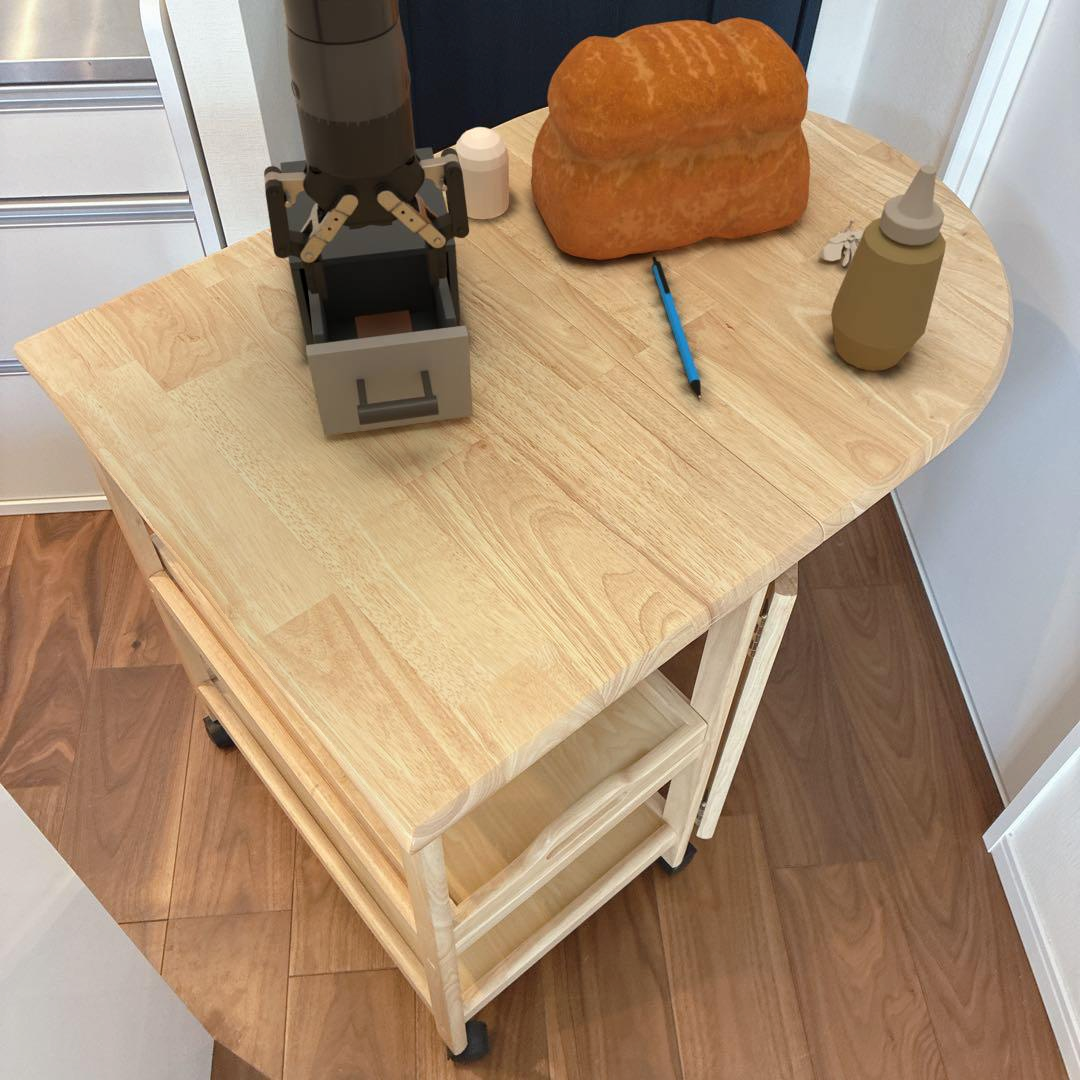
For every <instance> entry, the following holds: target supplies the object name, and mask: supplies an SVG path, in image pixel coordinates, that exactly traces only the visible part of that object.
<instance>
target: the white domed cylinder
mask: <svg viewBox="0 0 1080 1080" xmlns="http://www.w3.org/2000/svg"><path fill="white" fill-rule="evenodd" d="M454 150H456V152H457V154H458V158H459V162H460V165H461V169H462V173H463V181H464V190H465V198H466V206H467V215H468V218H470V219H474V220H475V219H476V220H490V219H496V218H498V217H500V216H502V215H503V214H504V213H506V211H507V210H508V208H509V205H510V165H509V164H510V163H509V160H510V157H509V152H508V148H507V144H506V142H505V140H504V138H503V137H502V136H501V135H500V134H499V133H498V132H497V131H496V130H494V129H491V128H489V127H482V126H477V127H473V128H470V129H469V130H465V132H463V133H462V134H461V136H460V137H459V138H458V140H457V141H456V144H455V147H454Z"/></svg>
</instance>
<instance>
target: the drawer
mask: <svg viewBox="0 0 1080 1080" xmlns="http://www.w3.org/2000/svg"><path fill="white" fill-rule="evenodd" d="M324 271H325V276H326V282H327V289H328V297H329V299H326V300H319V294H318V293H317V294H311V292H310V291H309V290H308V292H309V301H310V311H311V320H312V330H313V337H314V342H315V344H312V345H307V344H306V345H305V352H306V358H307V362H308V367H309V373H310V377H311V381H312V386H313V391H314V396H315V400H316V404H317V409H318V414H319V418H320V424H321V428H322V433H323V436H324V437H327V436H335V435H342V434H349V433H356V432H363V431H364V432H365V431H371V430H377V429H378V430H380V429H386V428H393V427H400V426H401V427H402V426H407V425H408V426H409V425H416V424H423V423H430V422H437V421H445V420H453V419H459V418H468V417H473V415H474V412H473V395H472V377H471V376H472V375H471V359H470V341H469V339H470V338H469V332H468V329H467V325H461V326H456V316H455V311H454V307H453V303H452V299H451V294H450V290H449V286H448V281H447V277H445V278H443V279H439V283H440V286H434V287H431V286H430V282H429V277H428V272H427V262H426V254H424V255H415V256H406V257H397V258H389V259H380V260H371V261H362V262H354V263H345V264H336V265H327V266H324ZM407 310H409V312H410V317H411V322H412V327H413V332H409V333H401V334H393V335H385V336H377V337H369V338H361V339H358V338H357V332H356V325H355V317H358V316H366V315H375V314H383V313H391V312H399V311H407Z"/></svg>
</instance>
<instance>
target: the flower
mask: <svg viewBox="0 0 1080 1080" xmlns="http://www.w3.org/2000/svg"><path fill="white" fill-rule="evenodd" d="M855 221H857V219H854V220H853V219H849V224H848V226H847V227H845V229H844V231H843V232H841V231H840V230H838V231H837V234H836V235H835V236H834V237H830V238H827V241H828V242H827V244H826V245H825V246H824V248H822V250H820V252H819V253H817V256H819V257H820V258H822V259H823V260H825V261H829V262H834V261H837V260H841V259H842V253H843V255H844V258H843V260H842V261H841V265H842V266H843V267H846V266H847V264H848V263H849V262H851V261H852V259H853V256H854V254H855V252H856V249H857V247H858V244H859V242H860V240H861V237H862V235H863V233H864V231H863V230H861V229H860V228H857V230H856V231H854V230H852V226H853V224H854V223H855ZM843 248H845V249H844V250H843ZM842 250H843V252H842ZM850 256H851V257H850Z"/></svg>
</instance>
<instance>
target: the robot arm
mask: <svg viewBox="0 0 1080 1080" xmlns="http://www.w3.org/2000/svg"><path fill="white" fill-rule="evenodd" d="M281 4H282V8H283V9H282V10H283V14H284V20H285V21H284V22H285V27H286V28H285V29H286V39H287V40H286V41H287V44H286V45H287V46H286V47H287V59H288V60H287V61H288V67H289V72H290V77H291V79H290V81H291V82H290V86H291V91H292V94H293V96H294V100H295V104H296V105H295V106H296V111H297V117H298V123H299V128H300V135H301V139H302V145H303V150H304V155H305V160H306V166H305V168H304V170H303V172H297V173H281V168H279V167H277V166H274V165H270V166H267V167H266V168H264V171H263V179H264V190H265V191H264V193H265V199H266V207H267V214H268V221H269V227H270V234H271V240H272V248H273V253H274V256H276V257H277V258H279V259H287V258H289V256H295V257H298V258H300V259H301V260H302V262H303V265H304V270H305V276H306V281H307V286H308V290H309V291H310V292H311V294H317V293H318V294H319V300H326V299H329V297H328V289H327V282H326V276H325V271H324V265H323V260H322V254H321V251H322V250H323V248H324V247H325V245H326V244H327V243H330V242H331V241H332V240H333V239H334V237H335V236H336V234H337V233H338V231H339V230H340V228H341V227H342V225H344V226H349V230H351V229H360V228H363V227H366V226H369V225H377V226H387V225H392V222H393V221H395V220H397V219H399V220H400V221H401V222H402V223H403V224H404V225H405V226H407V227H408V228H409V229H410V230H411V231H412V232H413V233H415V234H416V233H418V234H419V235H420V236H421V237H422V238H423V239H424V240H425V250H426V262H427V272H428V277H429V282H430V286H431V287H434V286H440V283H439V279H443V278H445V277H446V275H447V260H446V243H447V242H448V241H449V240H450V239H452V238H454V239H455V238H458V239H464V238H466V237H467V236H468V235H469V234H470V225H469V217H468V215H467V206H466V198H465V190H464V181H463V173H462V169H461V165H460V162H459V158H458V154H457V152H456V150H455V148H453V147H447V148H445V149H443V150H442V151H441V153H440V157H434V158H432V159H426V160H420V158H419V157H418V156H417V154H416V151H415V149H416V141H415V131H414V121H413V109H412V108H413V107H412V97H411V96H412V95H411V84H412V83H411V82H412V81H411V80H412V79H411V78H412V77H411V73H410V68H409V64H408V54H407V53H408V52H407V46H406V40H405V36H404V33H403V27H402V23H401V17H400V8H399V7H400V6H399V0H281ZM426 178H427V179H431V180H432V181H433V182H434V183H435V186H436V188H438V189H439V190H442V192H445V197H446V207H447V212H448V213H446V214H444V215H442V216H439V217H438V216H437V215H436V214H435V213H434V212H433V211H432V210H431V209H430V208H429V207H428V206H427V205H426V204H425V203H424V201H423V200H422V198H421V197H420V196H419V195H418V194H417V192H418V191H419V189H420V188H421V186H422V185H423V183H424V180H425V179H426ZM302 191H305V192H306V194H307V195H308V196H309V197H310V198H311V199H312V200H313V201H314V202H316V203H315V205H314V206H313V208H312V211H311V215H310V217H309V219H308V220H307V222H306V223H305V225H304V226H303V228H302V230H301V231H300V232H298V231H293V230H289V226H288V218H287V210H286V207H287V208H290V207H291V206H292V205H293V204H295V202H296V197H297V195H298V193H300V192H302Z"/></svg>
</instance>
